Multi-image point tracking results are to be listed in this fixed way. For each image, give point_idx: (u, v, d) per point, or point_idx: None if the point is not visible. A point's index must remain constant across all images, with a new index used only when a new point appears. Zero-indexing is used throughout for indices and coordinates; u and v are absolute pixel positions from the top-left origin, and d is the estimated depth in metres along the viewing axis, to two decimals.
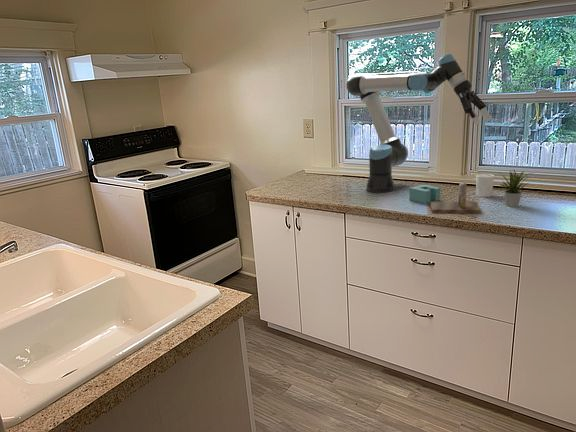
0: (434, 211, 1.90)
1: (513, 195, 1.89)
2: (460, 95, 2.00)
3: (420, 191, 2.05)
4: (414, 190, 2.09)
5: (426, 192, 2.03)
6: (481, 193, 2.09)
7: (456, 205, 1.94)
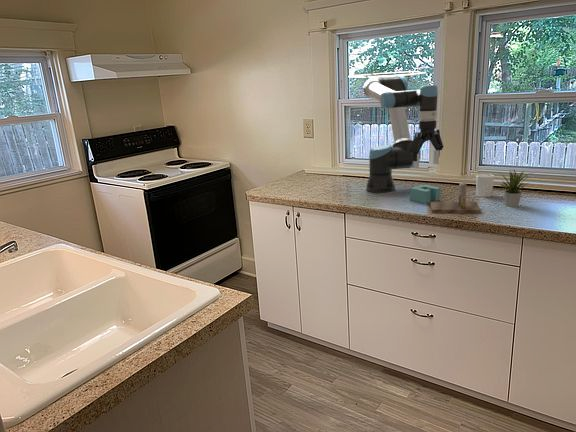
0: (434, 211, 1.90)
1: (513, 195, 1.89)
2: (416, 134, 1.98)
3: (420, 191, 2.05)
4: (414, 190, 2.09)
5: (426, 192, 2.03)
6: (481, 193, 2.09)
7: (456, 205, 1.94)
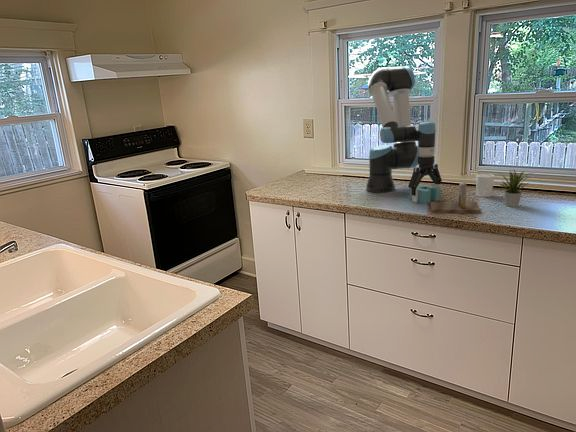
0: (434, 211, 1.90)
1: (513, 195, 1.89)
2: (415, 169, 2.03)
3: (420, 191, 2.05)
4: None
5: (426, 192, 2.03)
6: (481, 193, 2.09)
7: (456, 205, 1.94)
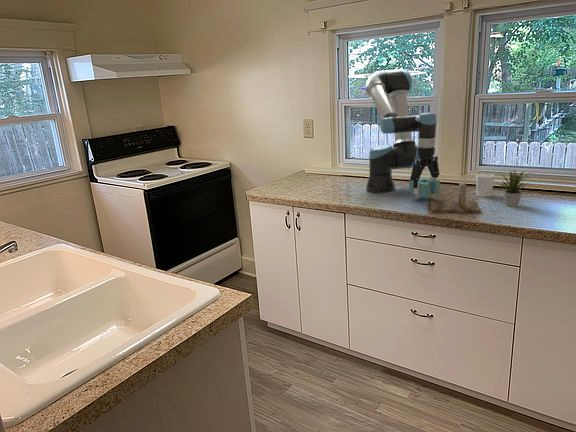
0: (434, 211, 1.90)
1: (513, 195, 1.89)
2: (415, 162, 2.02)
3: (420, 184, 2.05)
4: None
5: (426, 185, 2.03)
6: (481, 193, 2.09)
7: (456, 205, 1.94)
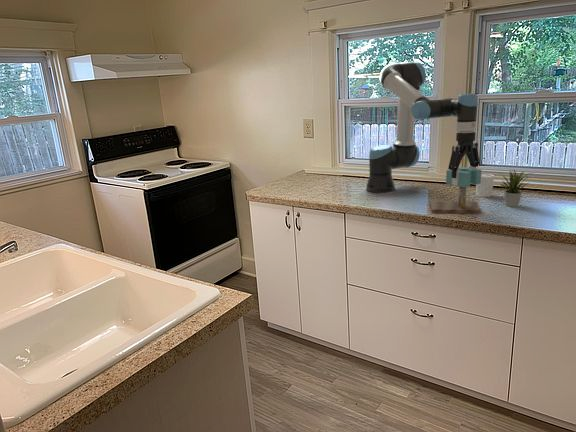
0: (434, 211, 1.90)
1: (513, 195, 1.89)
2: (454, 149, 1.82)
3: (459, 173, 1.84)
4: None
5: (466, 174, 1.82)
6: (481, 193, 2.09)
7: (456, 205, 1.94)
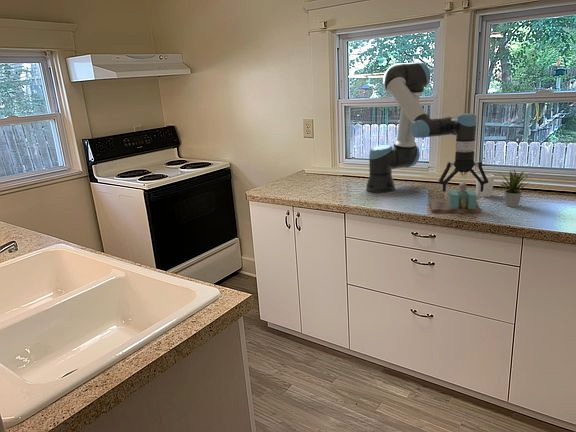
0: (434, 211, 1.90)
1: (513, 195, 1.89)
2: (447, 164, 1.89)
3: (450, 194, 1.91)
4: None
5: (452, 196, 1.88)
6: (481, 193, 2.09)
7: None
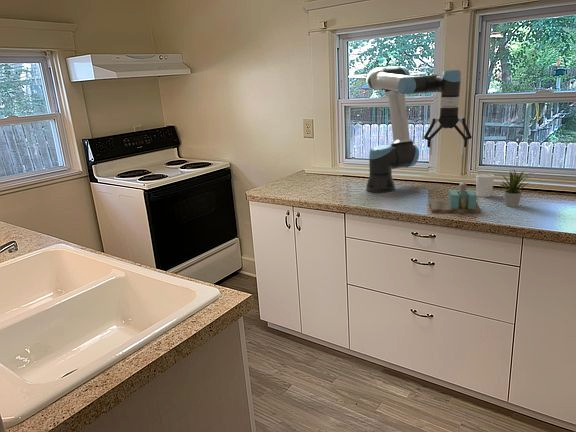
0: (434, 211, 1.90)
1: (513, 195, 1.89)
2: (432, 120, 1.95)
3: (450, 194, 1.91)
4: None
5: (452, 196, 1.88)
6: (481, 193, 2.09)
7: None
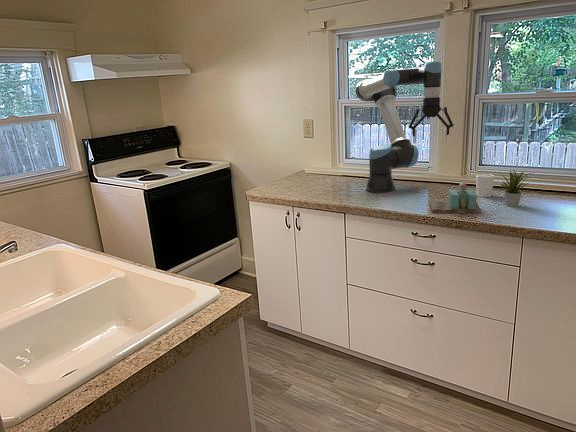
0: (434, 211, 1.90)
1: (513, 195, 1.89)
2: (416, 110, 2.06)
3: (450, 194, 1.91)
4: None
5: (452, 196, 1.88)
6: (481, 193, 2.09)
7: None
